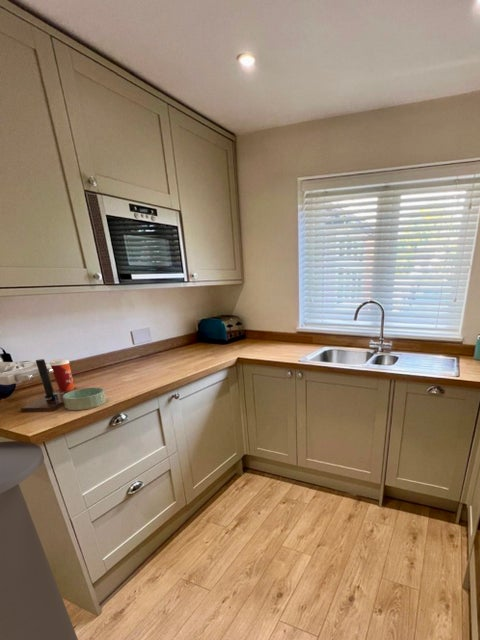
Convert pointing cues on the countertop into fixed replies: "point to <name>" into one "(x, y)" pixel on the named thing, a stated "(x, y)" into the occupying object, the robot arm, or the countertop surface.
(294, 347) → the countertop surface
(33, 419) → the countertop surface
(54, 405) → the cutting board
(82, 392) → the green bowl
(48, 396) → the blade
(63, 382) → the paper cup
